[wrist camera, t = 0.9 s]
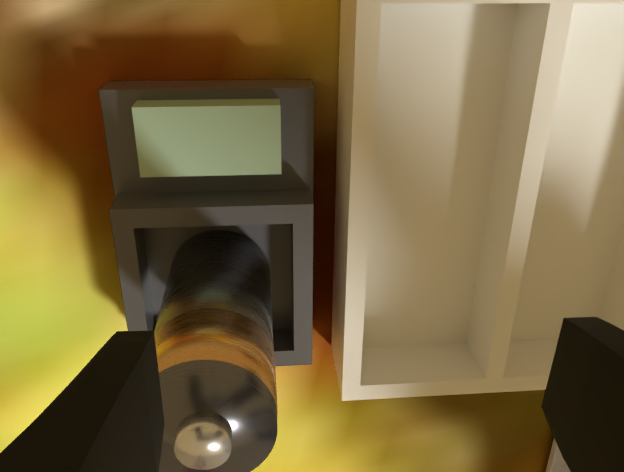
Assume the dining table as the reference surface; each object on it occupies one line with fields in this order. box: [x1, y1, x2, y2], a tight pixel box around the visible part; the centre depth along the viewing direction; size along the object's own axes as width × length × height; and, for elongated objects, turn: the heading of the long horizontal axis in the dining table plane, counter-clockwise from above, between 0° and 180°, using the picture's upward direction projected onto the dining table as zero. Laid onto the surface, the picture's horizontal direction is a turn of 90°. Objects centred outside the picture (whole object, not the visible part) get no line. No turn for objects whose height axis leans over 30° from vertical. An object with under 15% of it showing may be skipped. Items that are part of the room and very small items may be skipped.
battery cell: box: [154, 230, 277, 472], centre depth 16 cm, size 3×3×8 cm
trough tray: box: [331, 0, 624, 401], centre depth 19 cm, size 13×10×3 cm
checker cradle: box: [99, 79, 314, 366], centre depth 19 cm, size 9×6×2 cm, turn 0°
